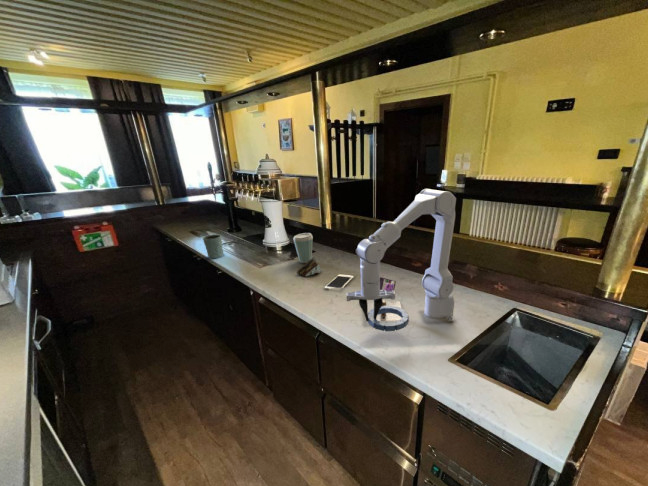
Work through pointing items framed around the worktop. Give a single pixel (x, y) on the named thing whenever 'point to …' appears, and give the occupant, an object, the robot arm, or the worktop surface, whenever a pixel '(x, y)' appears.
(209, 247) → the grey green cup
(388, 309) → the ring
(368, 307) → the platform
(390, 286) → the purple printed box
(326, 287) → the cell phone
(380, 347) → the worktop surface
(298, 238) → the disposable coffee cup
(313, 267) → the chocolate cake
